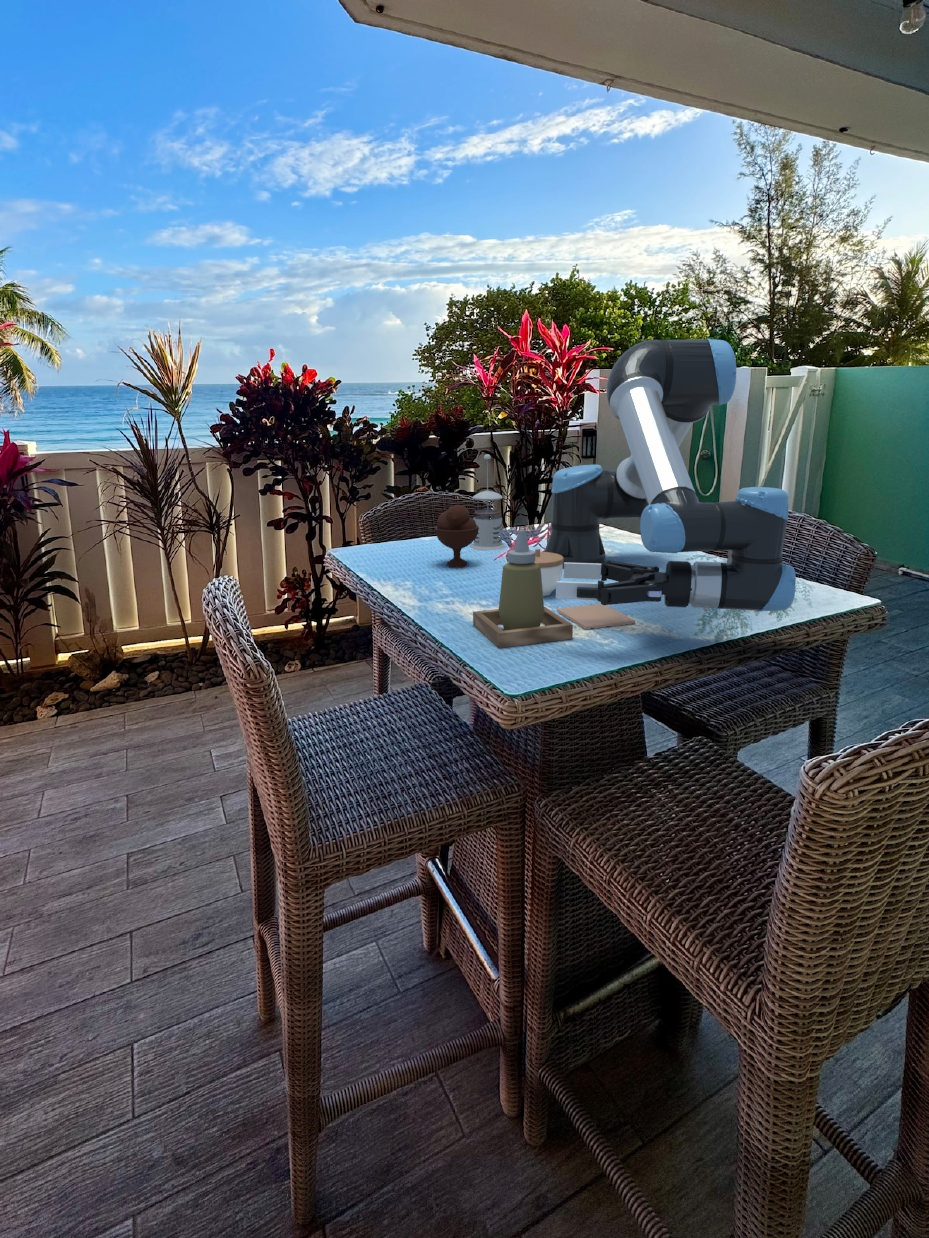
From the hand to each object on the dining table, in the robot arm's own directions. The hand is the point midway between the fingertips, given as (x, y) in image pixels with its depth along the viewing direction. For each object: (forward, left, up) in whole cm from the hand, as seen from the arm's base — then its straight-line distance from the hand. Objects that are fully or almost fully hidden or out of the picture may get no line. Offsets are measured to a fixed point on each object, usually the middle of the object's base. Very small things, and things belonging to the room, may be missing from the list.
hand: (559, 579), depth 121 cm
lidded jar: (-8, -27, -10) cm, 30 cm away
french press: (-15, -77, -10) cm, 79 cm away
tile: (-11, -7, -10) cm, 16 cm away
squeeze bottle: (+5, -4, -10) cm, 12 cm away
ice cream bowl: (0, -58, -10) cm, 59 cm away
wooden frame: (+5, -4, -10) cm, 12 cm away
